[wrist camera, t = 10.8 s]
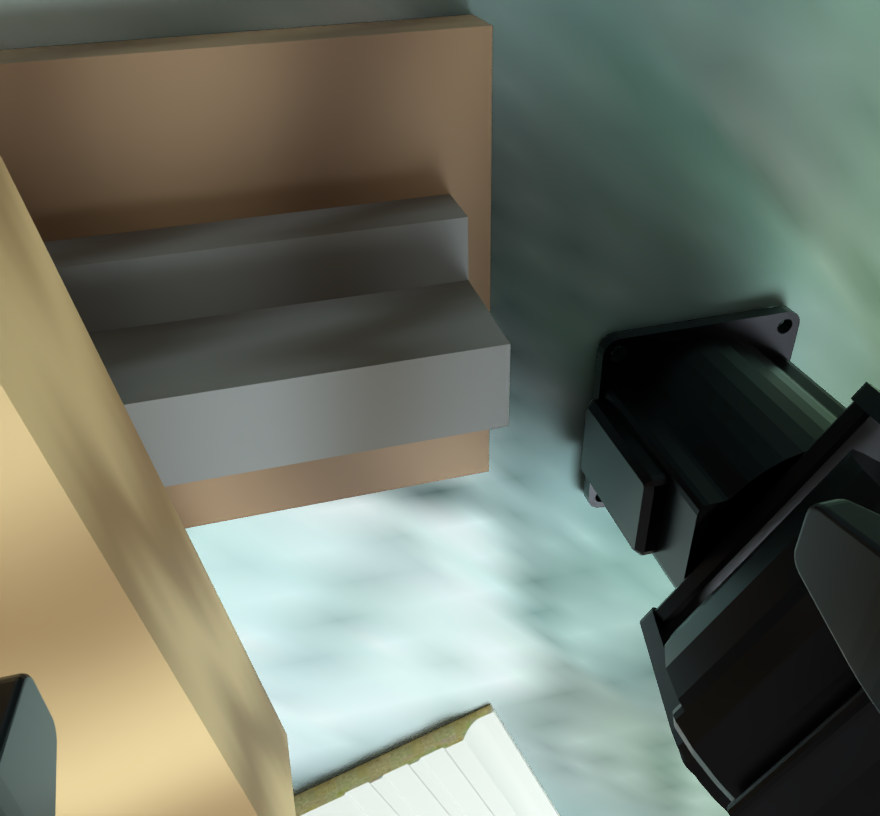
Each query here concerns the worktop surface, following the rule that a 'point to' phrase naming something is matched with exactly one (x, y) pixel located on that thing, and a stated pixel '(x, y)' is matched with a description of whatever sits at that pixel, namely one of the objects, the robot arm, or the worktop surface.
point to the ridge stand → (276, 249)
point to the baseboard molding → (438, 777)
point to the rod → (112, 581)
